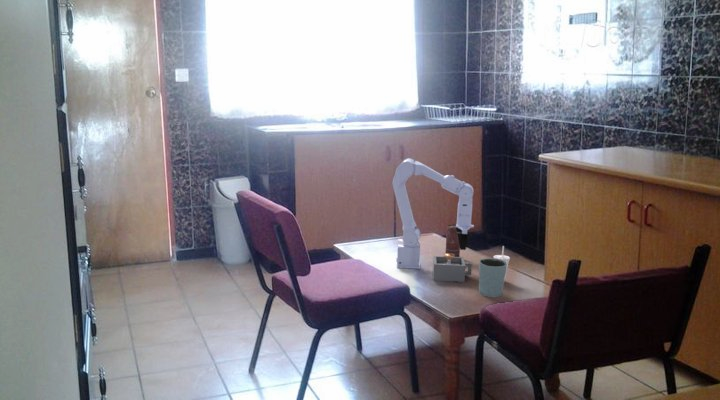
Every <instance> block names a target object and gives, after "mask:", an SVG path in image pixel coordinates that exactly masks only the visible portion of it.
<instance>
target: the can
mask: <svg viewBox="0 0 720 400" xmlns="http://www.w3.org/2000/svg"><path fill="white" fill-rule="evenodd" d="M445 239H446V240H445V253H444V254H446V253H452V254H454V255H455V256H454V257H461V256H460V253H461V250H460V245H459V241H458V235H457V230H456V224H448V225H447V227H446V236H445Z"/></svg>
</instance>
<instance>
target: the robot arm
mask: <svg viewBox="0 0 720 400" xmlns="http://www.w3.org/2000/svg"><path fill="white" fill-rule="evenodd" d="M413 174H414V176H425V177H426V178H429V179H431V180H433V181H435V182H437V183H440V185H441V188H442V189H444V190H446V191H448V192H449V193H452V194H454V195H457V196H458V197H459V198H458V203H457V212H456V213H457V214H456V215H457V216H456V224H455V225H456V230H457V235H458V241H459V245H460V251H461V250H462V251H466V249H467V246H468V243H469V240H470V238H471V236H472V233H471V232H469V231H470V229H471V228H472V229H473V228H474V227H475V225H474V224H472V214H473V201H474V199H473V196H474V192H475V191H474V187H473V185H471V184H470V183H467V182H465V181H462V180H459V179H458V178H456V177H455V175H453V174H451V175H450V174H447V175H443V174H441V173H440V172H438V171H436V170H434V169H432V168H431V167H430V166H428V165H426V164H424V163H422V162H420V161H419V160H415V159H413V158H409V157H407V158H405V159H404V160H403V161H402V162H401V163H399V165H398V166H397V167H396V169H395V173H394V175H393V179H392V188H393V192H394V196H395V199H396V203H397V207H398V212H399V215H400V219H401V223H402V231H403V232H402V233H403V235H402V241H403V242H402V244H401V243H400V244H397V255H396V260H395V261H396V268H397V269H416V270H417V269H419V270H420V269H421V262H420V258H421V257H420V256H421V243H420V241H419V240H420V238H421V236H422V233H421V231H420V229H419V228H418V226H417V223H416V221H415V218H414V216H413V215H414V214H413V211H412V207H411V203H410V199H409V195H408V190H407V187H406V182H407V180H408V179H409V178H410V177H412V175H413Z"/></svg>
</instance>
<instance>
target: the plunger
mask: <svg viewBox="0 0 720 400" xmlns="http://www.w3.org/2000/svg"><path fill="white" fill-rule="evenodd" d="M443 256H444V258H446V259H448V262H447V263H444V262H437V264H452V265H460V264H459V263H451V259H454V256H455V255H454V254H452V253H446V254H445V253H444V255H443Z"/></svg>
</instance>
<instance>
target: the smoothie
mask: <svg viewBox="0 0 720 400" xmlns="http://www.w3.org/2000/svg"><path fill="white" fill-rule="evenodd" d="M504 251H505V246H504V245H502V251H501V254H496V255H493V258H492V259H499V260H502V261H505V262H506V263H507V268H506V273H505V278H504V283H505V282H506V277H507V273H508V267H509V261H510V260H511V257H510V256H508V255H505V253H504Z"/></svg>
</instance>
